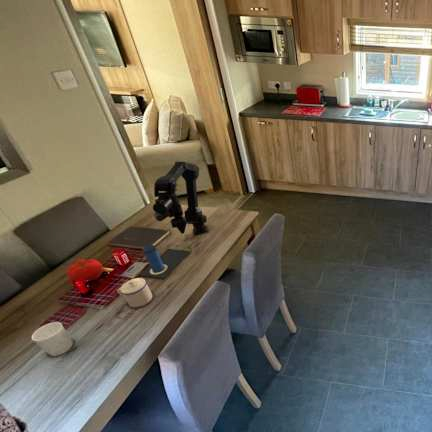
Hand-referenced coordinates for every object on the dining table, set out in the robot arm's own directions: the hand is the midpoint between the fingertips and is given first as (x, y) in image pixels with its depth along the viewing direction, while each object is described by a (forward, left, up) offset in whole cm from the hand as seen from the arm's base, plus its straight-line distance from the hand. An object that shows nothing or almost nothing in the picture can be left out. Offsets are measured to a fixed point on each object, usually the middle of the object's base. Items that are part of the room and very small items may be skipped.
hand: (181, 228), depth 159 cm
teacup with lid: (+27, -24, -13) cm, 38 cm away
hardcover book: (-22, -20, -13) cm, 32 cm away
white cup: (+39, -48, -13) cm, 63 cm away
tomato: (0, -41, -13) cm, 43 cm away
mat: (+7, -11, -13) cm, 19 cm away
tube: (+11, -14, -12) cm, 22 cm away
